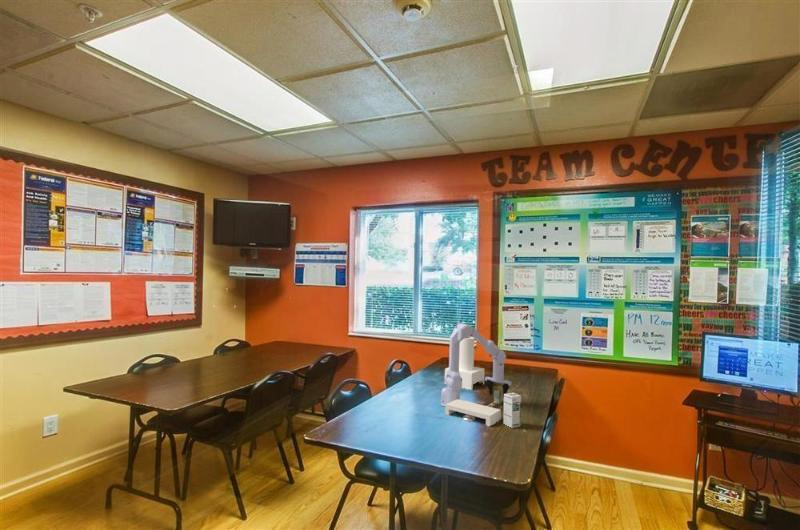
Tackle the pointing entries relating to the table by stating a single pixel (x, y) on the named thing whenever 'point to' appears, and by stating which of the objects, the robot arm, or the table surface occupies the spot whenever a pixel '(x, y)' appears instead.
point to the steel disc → (468, 418)
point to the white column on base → (468, 365)
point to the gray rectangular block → (496, 398)
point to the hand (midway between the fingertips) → (497, 396)
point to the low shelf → (474, 410)
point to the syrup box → (512, 410)
